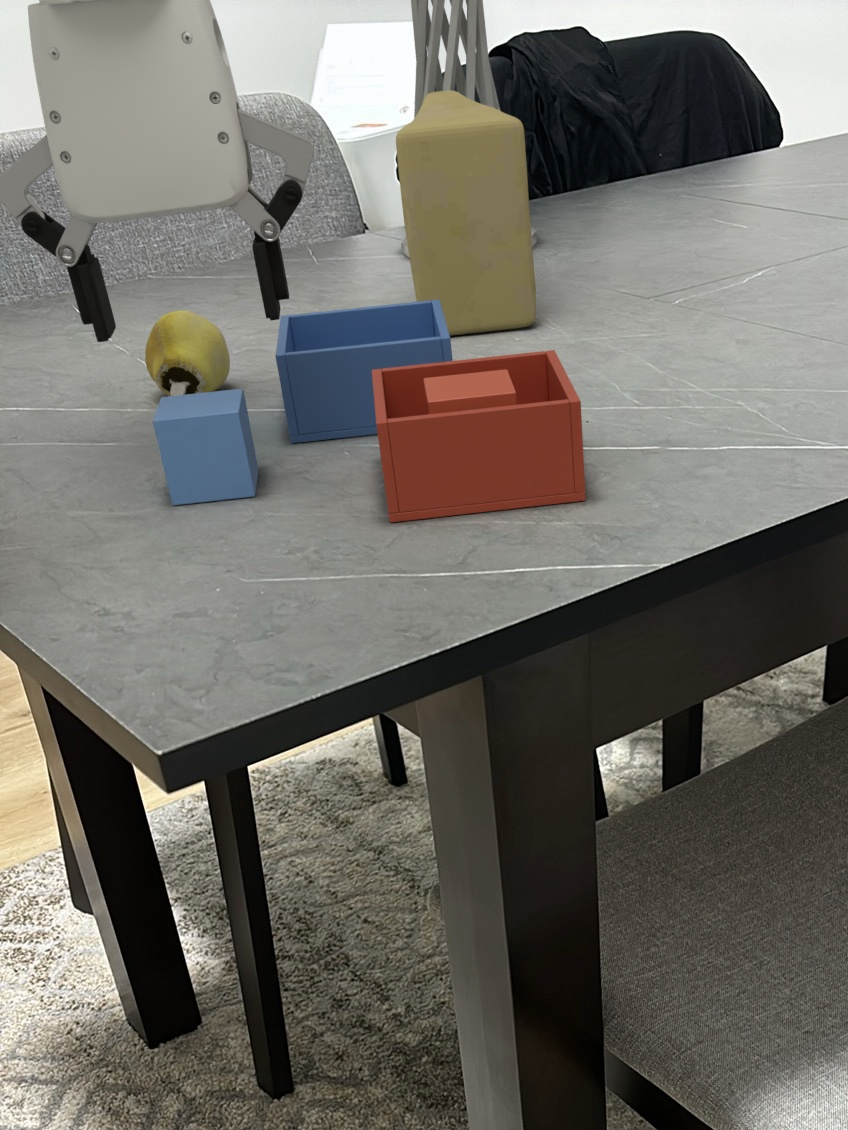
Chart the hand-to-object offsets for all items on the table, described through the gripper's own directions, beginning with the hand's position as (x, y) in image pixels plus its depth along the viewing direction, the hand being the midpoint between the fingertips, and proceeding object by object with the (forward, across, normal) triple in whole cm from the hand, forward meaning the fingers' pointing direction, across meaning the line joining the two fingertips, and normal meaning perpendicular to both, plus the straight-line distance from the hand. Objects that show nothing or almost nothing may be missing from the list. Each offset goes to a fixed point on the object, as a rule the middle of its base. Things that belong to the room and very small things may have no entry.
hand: (190, 325), depth 80 cm
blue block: (+9, +1, 0) cm, 9 cm away
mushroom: (+10, +4, -21) cm, 23 cm away
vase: (+10, -20, -67) cm, 71 cm away
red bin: (+10, -15, +4) cm, 19 cm away
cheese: (+10, -18, -42) cm, 47 cm away
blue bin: (+10, -9, -13) cm, 19 cm away
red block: (+9, -15, +4) cm, 18 cm away
